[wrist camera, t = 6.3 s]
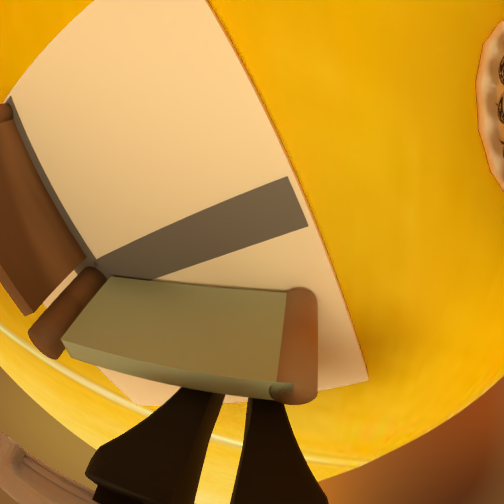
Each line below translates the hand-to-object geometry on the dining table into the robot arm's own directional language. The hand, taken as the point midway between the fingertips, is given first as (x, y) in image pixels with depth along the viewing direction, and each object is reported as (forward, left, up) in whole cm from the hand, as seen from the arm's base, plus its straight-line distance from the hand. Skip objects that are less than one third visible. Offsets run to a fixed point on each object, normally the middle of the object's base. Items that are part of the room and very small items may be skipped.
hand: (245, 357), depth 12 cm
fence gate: (-1, +3, -1) cm, 3 cm away
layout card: (-4, +5, -2) cm, 6 cm away
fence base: (-6, +10, -1) cm, 11 cm away
